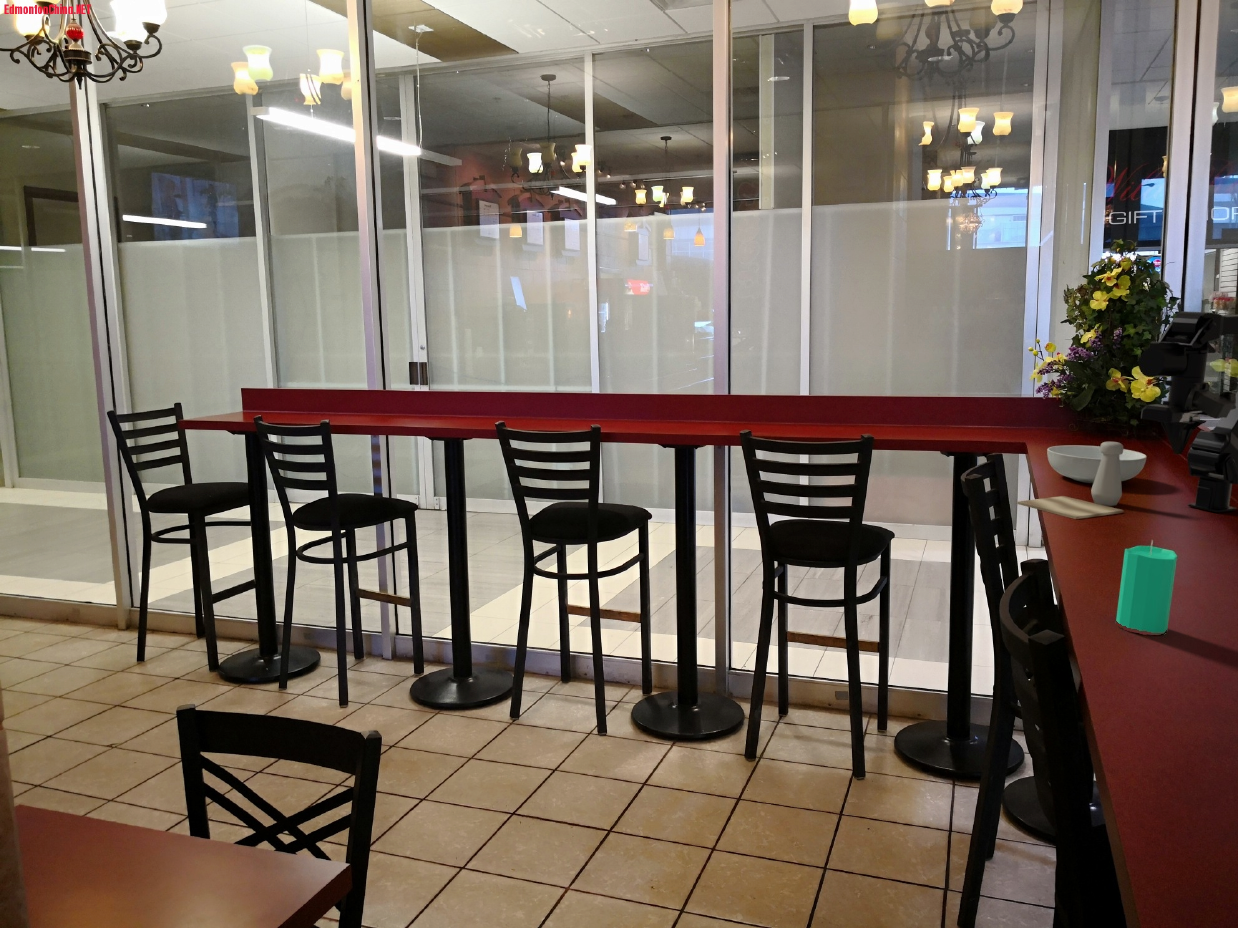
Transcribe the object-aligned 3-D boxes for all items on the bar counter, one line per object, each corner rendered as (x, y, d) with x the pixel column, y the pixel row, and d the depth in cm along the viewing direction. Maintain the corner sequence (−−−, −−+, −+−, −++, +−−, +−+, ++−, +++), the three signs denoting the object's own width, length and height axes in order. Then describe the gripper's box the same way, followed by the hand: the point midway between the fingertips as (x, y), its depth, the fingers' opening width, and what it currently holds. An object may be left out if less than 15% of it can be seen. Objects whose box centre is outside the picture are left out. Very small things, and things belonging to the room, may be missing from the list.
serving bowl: (1120, 473, 236) (1124, 445, 234) (1159, 491, 215) (1163, 461, 214) (1032, 470, 238) (1035, 442, 236) (1062, 488, 217) (1065, 458, 216)
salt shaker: (1103, 507, 198) (1110, 445, 196) (1083, 501, 204) (1090, 440, 201) (1126, 506, 200) (1134, 444, 197) (1106, 499, 205) (1113, 439, 203)
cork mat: (1063, 498, 206) (1063, 495, 206) (1123, 512, 194) (1123, 510, 194) (1017, 503, 200) (1017, 501, 200) (1075, 519, 187) (1076, 516, 187)
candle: (1150, 620, 131) (1161, 534, 129) (1176, 636, 125) (1189, 547, 123) (1107, 619, 131) (1117, 534, 128) (1131, 635, 125) (1142, 546, 123)
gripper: (1201, 382, 178) (1190, 465, 181) (1257, 378, 187) (1246, 457, 190) (1143, 376, 188) (1134, 455, 191) (1199, 373, 197) (1189, 448, 200)
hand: (1177, 454), depth 192 cm, fingers closed
